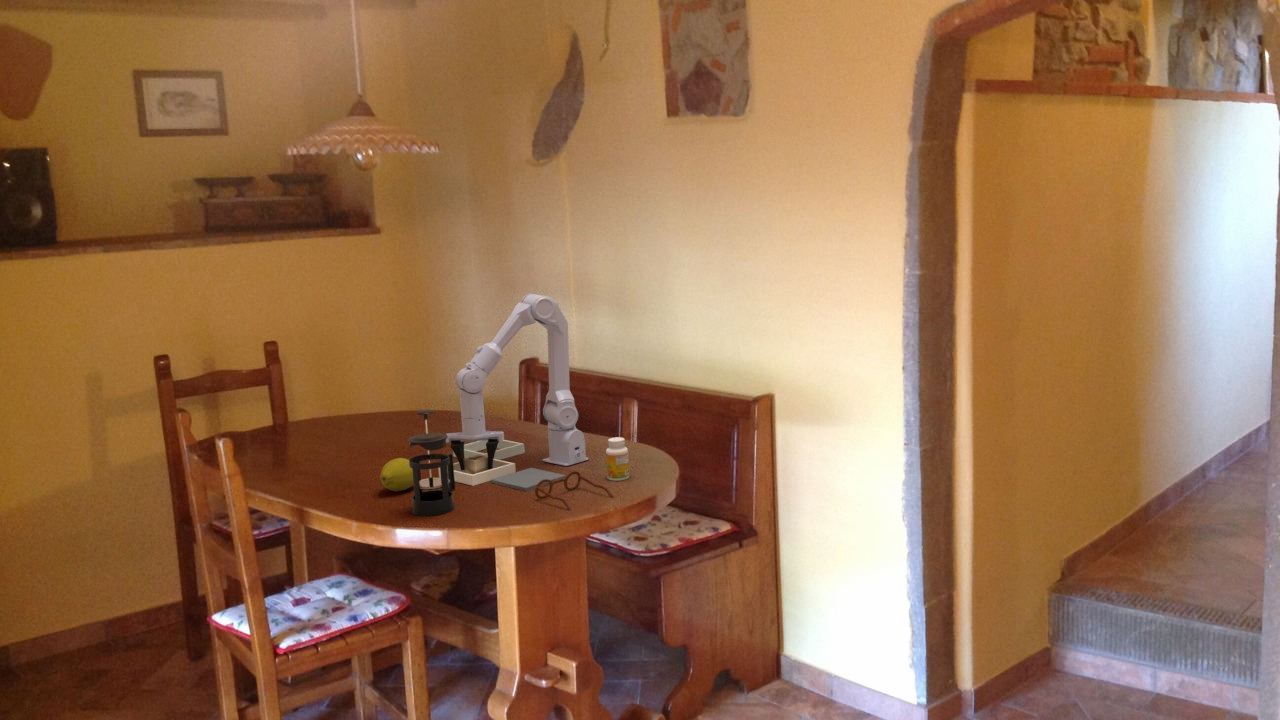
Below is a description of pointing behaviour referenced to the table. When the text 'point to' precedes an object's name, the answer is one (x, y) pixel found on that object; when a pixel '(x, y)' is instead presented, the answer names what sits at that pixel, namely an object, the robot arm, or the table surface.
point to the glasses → (565, 487)
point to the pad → (527, 479)
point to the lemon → (397, 475)
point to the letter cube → (475, 464)
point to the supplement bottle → (617, 459)
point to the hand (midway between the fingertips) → (476, 469)
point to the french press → (436, 499)
